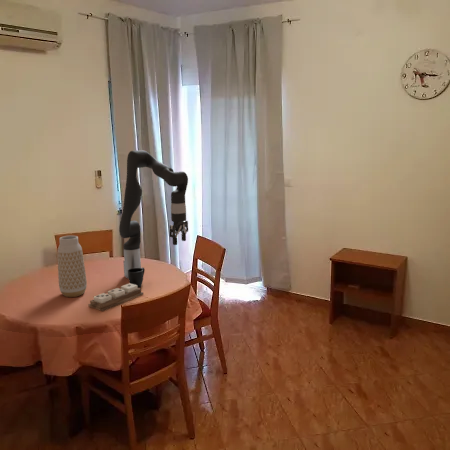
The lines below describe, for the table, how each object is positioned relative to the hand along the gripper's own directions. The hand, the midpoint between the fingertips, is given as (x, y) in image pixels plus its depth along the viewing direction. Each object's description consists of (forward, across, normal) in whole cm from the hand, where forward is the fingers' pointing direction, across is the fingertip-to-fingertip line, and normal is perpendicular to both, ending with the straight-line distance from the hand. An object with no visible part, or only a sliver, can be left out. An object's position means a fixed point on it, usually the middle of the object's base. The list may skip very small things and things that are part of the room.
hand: (179, 242), depth 216 cm
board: (+28, +21, -25) cm, 43 cm away
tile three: (+25, +30, -26) cm, 47 cm away
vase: (+28, +24, -52) cm, 63 cm away
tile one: (+25, +13, -23) cm, 37 cm away
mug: (+28, 0, -28) cm, 39 cm away
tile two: (+25, +21, -25) cm, 41 cm away
